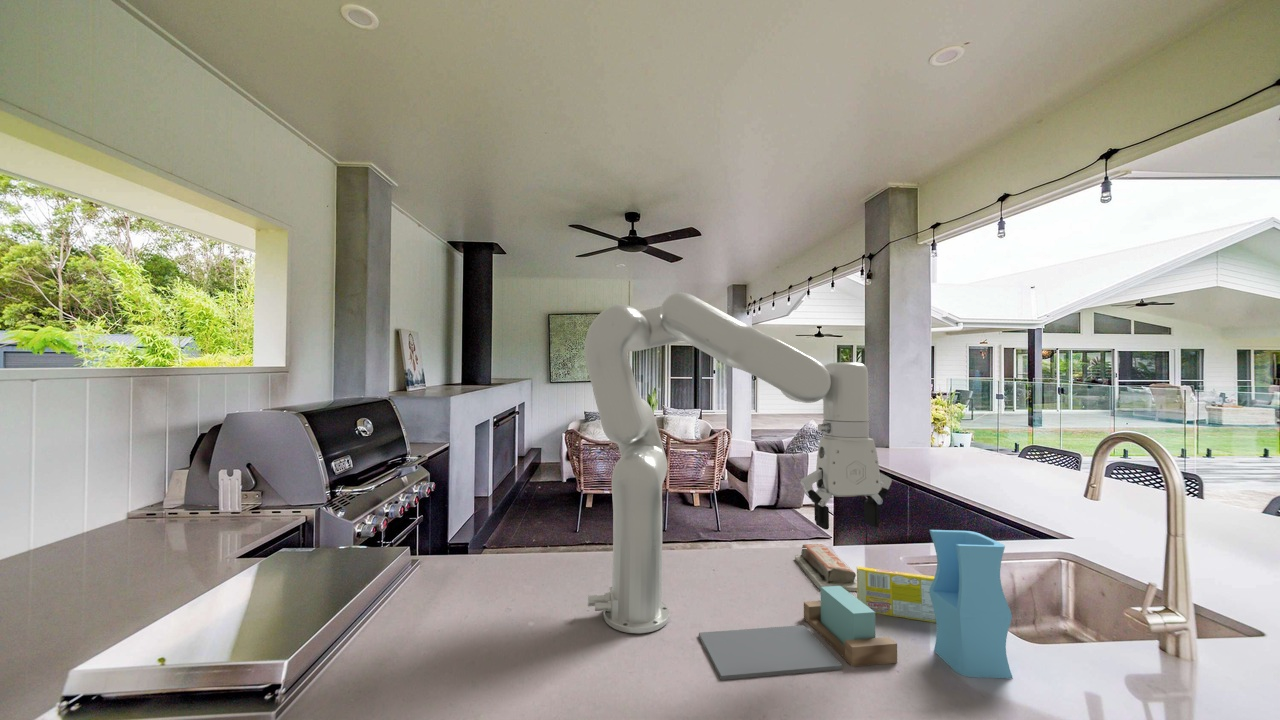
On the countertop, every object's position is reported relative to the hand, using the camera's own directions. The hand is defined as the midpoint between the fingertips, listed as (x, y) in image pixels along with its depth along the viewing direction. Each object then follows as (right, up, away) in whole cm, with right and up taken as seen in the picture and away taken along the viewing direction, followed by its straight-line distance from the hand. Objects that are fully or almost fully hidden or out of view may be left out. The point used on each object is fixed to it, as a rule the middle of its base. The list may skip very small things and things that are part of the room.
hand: (847, 526), depth 82 cm
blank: (0, -20, -1) cm, 20 cm away
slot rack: (0, -20, -1) cm, 20 cm away
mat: (-16, -19, -5) cm, 26 cm away
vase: (+17, -20, -7) cm, 27 cm away
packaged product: (+7, -22, +26) cm, 35 cm away
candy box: (+14, -21, +7) cm, 26 cm away
